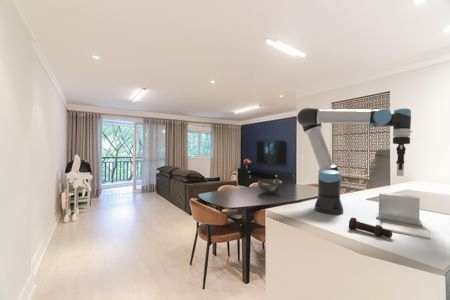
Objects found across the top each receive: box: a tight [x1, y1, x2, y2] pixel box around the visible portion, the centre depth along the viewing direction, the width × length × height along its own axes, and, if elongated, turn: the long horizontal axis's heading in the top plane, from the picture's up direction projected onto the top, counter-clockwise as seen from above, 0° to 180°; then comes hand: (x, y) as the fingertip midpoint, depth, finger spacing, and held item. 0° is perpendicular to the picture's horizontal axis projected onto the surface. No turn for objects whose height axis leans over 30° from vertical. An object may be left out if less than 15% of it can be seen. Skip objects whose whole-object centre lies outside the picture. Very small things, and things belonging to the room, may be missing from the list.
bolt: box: [348, 217, 393, 239], centre depth 93 cm, size 6×5×15 cm
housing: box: [375, 191, 423, 228], centre depth 113 cm, size 18×10×13 cm, turn 53°
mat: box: [381, 222, 432, 240], centre depth 97 cm, size 16×10×1 cm, turn 53°
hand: (399, 175), depth 121 cm, fingers open, 13 cm apart
